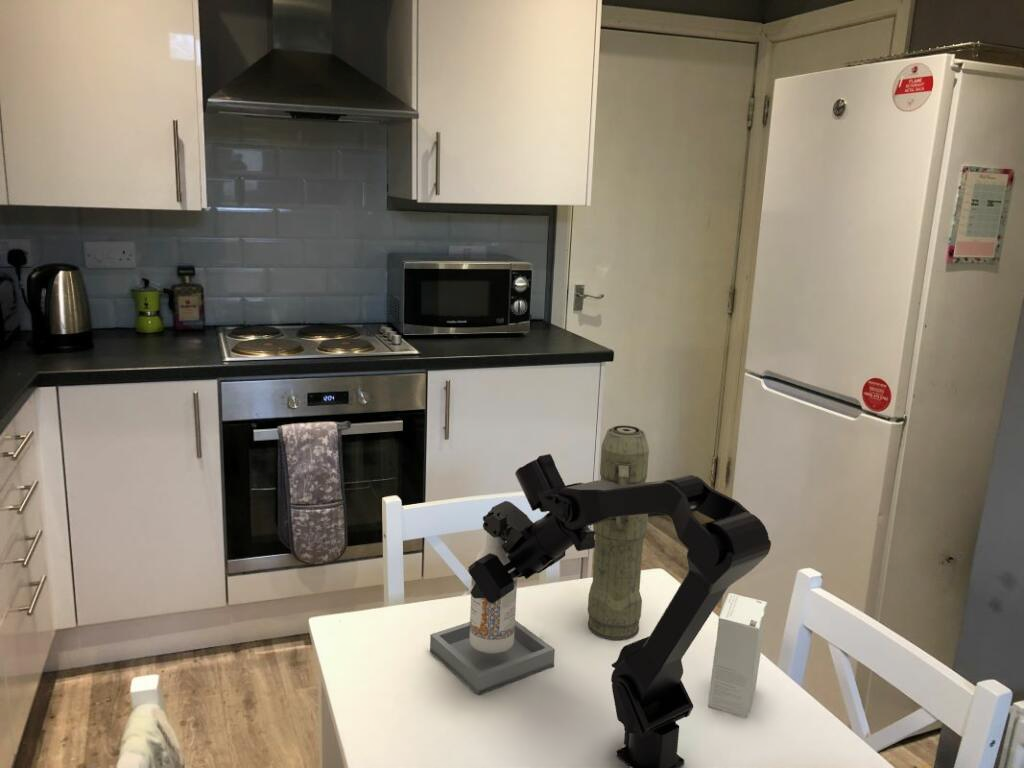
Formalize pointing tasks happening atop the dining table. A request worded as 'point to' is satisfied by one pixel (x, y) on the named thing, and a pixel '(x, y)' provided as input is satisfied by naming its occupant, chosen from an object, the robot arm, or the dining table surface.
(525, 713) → the dining table surface
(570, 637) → the dining table surface
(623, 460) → the thermos
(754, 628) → the skincare box
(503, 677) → the grey square tray
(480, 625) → the bath foam
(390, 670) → the dining table surface
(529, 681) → the dining table surface
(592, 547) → the robot arm
